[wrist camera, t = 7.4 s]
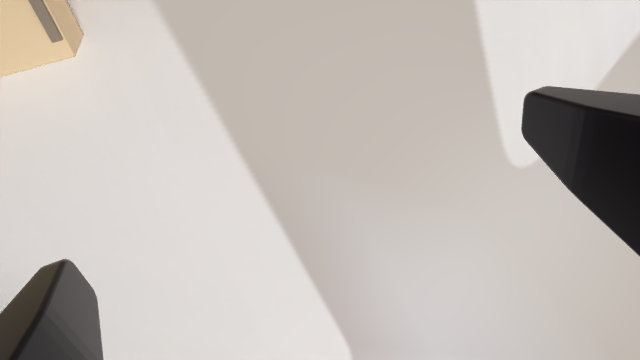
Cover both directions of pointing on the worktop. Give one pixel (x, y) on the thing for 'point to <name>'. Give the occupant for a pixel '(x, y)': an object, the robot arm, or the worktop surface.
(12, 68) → the hinged cream panel
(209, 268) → the worktop surface
